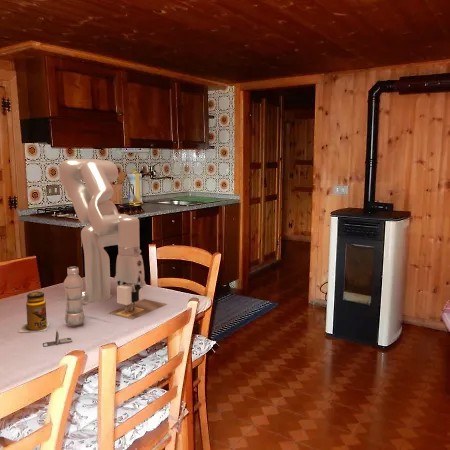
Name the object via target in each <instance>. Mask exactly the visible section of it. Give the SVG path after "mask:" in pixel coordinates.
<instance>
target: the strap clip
mask: <svg viewBox="0 0 450 450" xmlns="http://www.w3.org/2000/svg"><path fill="white" fill-rule="evenodd" d="M55 332H56V333H55V341H54V340H53V341H46V342H43V343H42V347H43V348H48V347H51V346H52V347H53V346H56V345H58V344H59V345H65V344H71V343H73V339H72V337H64V338H63V337H62V338H60V334H59V333H60V332H59V330H58V329H56V330H55Z"/></svg>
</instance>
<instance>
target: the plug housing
mask: <svg viewBox="0 0 450 450" xmlns="http://www.w3.org/2000/svg"><path fill="white" fill-rule="evenodd" d="M139 284H140V282H139ZM135 287H136V284H135ZM132 292H133V289H132V284H131V283H127V284H124V285H121V286H119V285H117V286H116V299H117V301H116V302H117V304H120V305H124V306H127V305H129V304H133V303H132ZM140 300H143V287H142V288H141V289H140V290H139V301H140Z"/></svg>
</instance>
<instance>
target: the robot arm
mask: <svg viewBox="0 0 450 450" xmlns="http://www.w3.org/2000/svg"><path fill="white" fill-rule="evenodd" d="M58 173H59V175H58V176H59V179H60V183H61V185H62V186H63V188H64V189H65V192H66V193H67V194H68V196H69V198H70V200H71V203H72V206H73V209H74V211H75V214H76V216H77V218H78V219H77V220H79V222H80V223H81V224H83V225H84V227H82V229H81V231H80V238H81V242H82V243H81V244H82V248H83V254H84V255H83V256H84V274H85V275H84V278H85V283H84V284H85V289H84V290H83V291H82V304H83V305H85V306H86V305H89V304H92V303H95V302H103V301H107V300H110V298H111V297H112V296H113V295H112V294H111V270H110V269H111V267H110V265H111V264H110V256H109V254H108V253H107V251H106V249H104V248H105V247H110V246H117V248H118V249H117V253H118V254H117V256H116V261H115V262H116V263H115V276H114V278H113V279H114V281H115V282H116V283H117V286H121V285H124V284H127V283H131V284H132V289H133V292H132V303H131V304H133V303H135V302H138V301H140V300H139V290H140V289H141V288H142V289H143V287H144V286H145V285H147V283H146V281H145V266H144V260H143V255H142V254H141V253H142V250H141V249H140V246H141V245H140V219H139V218H138V217H136V216H130V215H129V214H127V213H120V214H119V211H118V208H117V206H116V205H115V203H114V202H113V201H111V200H110V199H111V198H112V197H113V195H114V188H113V186H112V185H111V183H113V182H115V181H116V180H117V179H118V178H119V177H118V176H119V169H118V167H117V164H115V163H114V162H113V161H112V160H106V159H105V160H104V159H99V158H70V159H65V160H64V161H62V162H61V163H60V165H59V167H58ZM81 180H83V181H84V183H83V182H82V181H81ZM139 283H140V284H139ZM135 284H136V287H135Z"/></svg>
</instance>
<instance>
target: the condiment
mask: <svg viewBox="0 0 450 450" xmlns="http://www.w3.org/2000/svg"><path fill="white" fill-rule="evenodd" d="M46 305H47V302H46V300H45V292H43V291H33V292H30V293H27V295H26V303H25V306H26V307H25V308H26V309H25V310H26V323H23V324H22V326H21V328H20V330H19V331H18V333H31V332H33V333H34V332H46V331H47V330H48V328H49V325H50V322H47V306H46Z"/></svg>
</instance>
